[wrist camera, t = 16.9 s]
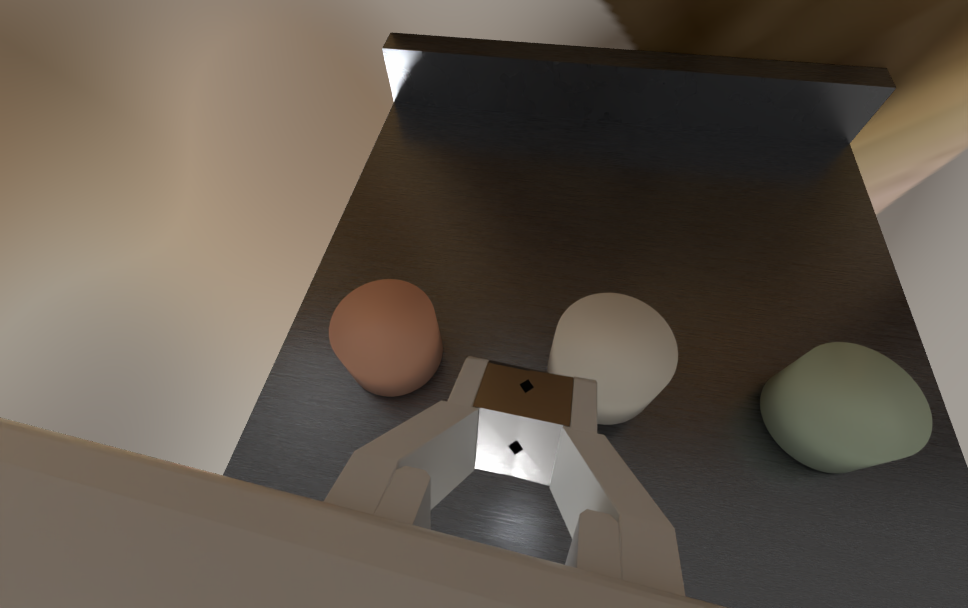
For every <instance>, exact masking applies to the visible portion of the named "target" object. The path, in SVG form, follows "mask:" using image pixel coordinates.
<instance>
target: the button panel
mask: <svg viewBox="0 0 968 608" xmlns="http://www.w3.org/2000/svg"><path fill="white" fill-rule="evenodd" d="M382 50H383V55H384V59H385V64H386V68H387V72H388V77H389V81H390V86H391V90H392V95H393V99H394V103H393V106H392V108H391V110H390V112H389V114H388V117H387V119H386V121H385V123H384V125H383V127H382V130H381V132H380V134H379V136H378V138H377V141H376V143H375V145H374V147H373V149H372V151H371V154H370V156H369V158H368V160H367V162H366V164H365V167H364V169H363V172H362V173H361V176H360V178H359V180H358V182H357V184H356V186H355V188H354V191H353V193H352V195H351V197H350V200H349V202H348V204H347V206H346V208H345V211H344V213H343V215H342V217H341V219H340V221H339V223H338V226H337V228H336V230H335V232H334V234H333V236H332V239H331V241H330V243H329V245H328V247H327V249H326V252H325V254H324V256H323V258H322V261H321V263H320V265H319V267H318V269H317V271H316V273H315V276H314V278H313V280H312V282H311V284H310V287H309V289H308V291H307V293H306V295H305V297H304V300H303V302H302V304H301V306H300V308H299V311H298V313H297V315H296V317H295V319H294V322H293V324H292V326H291V328H290V331H289V332H288V335H287V337H286V339H285V341H284V343H283V345H282V348H281V350H280V352H279V354H278V357H277V359H276V361H275V363H274V365H273V367H272V370H271V372H270V374H269V376H268V378H267V380H266V383H265V385H264V387H263V389H262V391H261V393H260V396H259V398H258V400H257V402H256V404H255V407H254V409H253V411H252V413H251V415H250V417H249V420H248V422H247V424H246V426H245V428H244V431H243V433H242V435H241V437H240V439H239V441H238V444H237V446H236V448H235V450H234V452H233V455H232V457H231V459H230V461H229V463H228V466H227V468H226V470H225V472H224V474H223V476H227V477H231V478H235V479H239V480H242V481H246V482H250V483H254V484H258V485H262V486H265V487H269V488H273V489H277V490H281V491H284V492H288V493H292V494H296V495H300V496H304V497H307V498H311V499H315V500H319V501H324V500H325V498H326V496H327V495H328V493H329V491H330V490H331V488H332V487H333V485H334V483H335V482H336V480H337V478H338V477H339V475H340V474H341V472H342V470H343V469H344V467H345V465H346V464H347V462H348V460H349V459H350V457H351V456H352V454H353V452H354V451H355V450H357V449H359V448H361V447H362V446H364V445H366V444H367V443H369V442H371V441H373V440H374V439H376V438H378V437H379V436H381V435H383V434H385V433H386V432H388V431H390V430H391V429H393V428H395V427H397V426H398V425H400V424H402V423H403V422H405V421H407V420H409V419H410V418H412V417H414V416H415V415H417V414H419V413H421V412H422V411H424V410H426V409H427V408H429V407H431V406H433V405H434V404H436V403H438V402H439V401H446V402H447V401H448V399H449V396H450V394H451V392H452V389H453V387H454V385H455V382H456V380H457V378H458V376H459V373H460V371H461V369H462V366H463V364H464V362H465V359H466V358H467V357H468V356H472V357H476V358H481V359H486V360H492V361H497V362H501V363H506V364H511V365H515V366H520V367H525V368H529V369H533V370H539V371H544V372H548V371H547V368H548V360H549V355H550V351H551V347H552V343H553V339H554V335H555V331H556V327H557V325H558V322H559V320H560V318H561V316H562V315H563V313H564V312H565V311H566V310H567V309H568V308H569V307H570V306H571V305H572V304H573V303H575V302H576V301H578V300H580V299H581V298H584V297H586V296H589V295H593V294H598V293H618V294H624V295H627V296H631V297H633V298H636V299H638V300H640V301H642V302H644V303H646V304H647V305H649V306H650V307H652V308H653V309H654V310H655V311H657V312H658V313H659V314H660V315H661V316H662V317H663V318H664V320H665V321H666V322H667V324H668V325H669V327H670V328H671V330H672V332H673V334H674V337H675V340H676V343H677V349H678V362H677V367H676V370H675V373H674V375H673V377H672V379H671V380H670V382H669V383H668V384H667V386H666V387H665V388H664V389H663V390H662V391H661V392H660V393H659V394H658V395H657V396H656V397H655V398H654V399H653V400H652V401H651V402H650V403H649V405H648V406H647V407H646V408H645V409H644V410H643V411H642V412H641V413H639V414H638V415H637V416H635V417H634V418H632V419H630V420H628V421H626V422H623V423H619V424H613V425H603V424H597V433H598V434H603V435H605V437H606V438H607V439H608V441H609V442H610V443H611V445H612V446H613V447H614V449H615V450H616V451H617V453H618V454H619V455H620V457H621V458H622V459H623V460H624V462H625V463H626V464H627V466H628V467H629V468H630V470H631V471H632V472H633V474H634V475H635V476H636V478H637V479H638V480H639V482H640V483H641V484H642V486H643V487H644V488H645V490H646V491H647V492H648V494H649V495H650V496H651V498H652V499H653V500H654V502H655V503H656V504H657V506H658V507H659V508H660V510H661V511H662V512H663V514H664V515H665V516H666V517H667V519H668V520H669V521H670V523H671V524H672V525H673V527H674V528H675V533H676V539H677V546H678V552H679V558H680V565H681V571H682V578H683V584H684V590H685V596H686V597H690V598H694V599H698V600H702V601H706V602H709V603H713V604H717V605H721V606H725V607H728V608H968V467H967V465H966V462H965V459H964V456H963V454H962V451H961V448H960V446H959V443H958V440H957V437H956V434H955V431H954V429H953V426H952V423H951V421H950V418H949V415H948V413H947V410H946V407H945V404H944V401H943V399H942V396H941V393H940V390H939V388H938V385H937V382H936V379H935V377H934V374H933V371H932V368H931V366H930V363H929V360H928V357H927V355H926V352H925V349H924V347H923V344H922V341H921V338H920V336H919V333H918V330H917V327H916V325H915V322H914V319H913V317H912V314H911V311H910V308H909V305H908V303H907V300H906V297H905V294H904V292H903V289H902V286H901V284H900V281H899V278H898V275H897V272H896V270H895V267H894V264H893V261H892V259H891V256H890V254H889V250H888V248H887V245H886V242H885V240H884V237H883V234H882V231H881V229H880V226H879V223H878V220H877V218H876V215H875V212H874V209H873V207H872V204H871V201H870V198H869V196H868V193H867V190H866V187H865V185H864V182H863V179H862V176H861V174H860V171H859V168H858V165H857V163H856V160H855V157H854V154H853V152H852V149H851V146H850V142H851V141H852V140H853V139H854V138H855V136H856V135H857V134H858V133H859V132H860V130H861V129H862V128H863V127H864V126H865V125H866V123H867V122H868V121H869V120H870V119H871V117H872V116H873V115H874V114H875V113H876V111H877V110H878V109H879V108H880V107H881V105H882V104H883V103H884V102H885V101H886V100H887V98H888V97H889V96H890V95H891V94H892V92H893V91H894V90H895V89H896V86H895V84H894V82H893V80H892V78H891V76H890V74H889V72H888V70H887V68H873V67H859V66H845V65H831V64H817V63H804V62H790V61H776V60H762V59H748V58H735V57H721V56H707V55H693V54H679V53H665V52H652V51H638V50H624V49H623V50H622V49H610V48H596V47H581V46H568V45H555V44H541V43H527V42H513V41H500V40H485V39H472V38H457V37H444V36H430V35H417V34H403V33H390V35H389V36H388V38H387V40H386V42H385V44H384V46H383V48H382ZM382 279H397V280H402V281H406V282H409V283H411V284H413V285H415V286H417V287H418V288H420V289H421V290H422V291H423V292H424V293H425V294H426V295H427V296H428V297H429V299H430V300H431V302H432V305H433V307H434V310H435V314H436V318H437V322H438V326H439V331H440V335H441V339H442V344H443V354H442V359H441V362H440V365H439V367H438V369H437V371H436V372H435V374H434V375H433V376H432V378H431V379H430V380H429V381H428V382H427V383H426V384H424V385H423V386H422V387H420V388H419V389H417V390H415V391H413V392H411V393H408V394H405V395H401V396H395V397H387V396H380V395H376V394H373V393H371V392H369V391H367V390H365V389H364V388H363V387H361V386H360V385H359V384H358V383H357V382H356V380H355V379H354V378H353V376H352V375H351V374H350V373H349V371H348V370H347V369H346V367H345V366H344V365H343V364H342V362H341V361H340V360H339V358H338V357H337V356H336V354H335V353H334V351H333V349H332V347H331V344H330V340H329V325H330V321H331V318H332V315H333V313H334V311H335V309H336V307H337V306H338V304H339V303H340V302H341V301H342V300H343V299H344V298H345V297H346V296H347V295H348V294H349V293H350V292H352V291H353V290H355V289H356V288H358V287H360V286H362V285H364V284H366V283H369V282H372V281H376V280H382ZM831 342H847V343H853V344H858V345H861V346H865V347H867V348H870V349H873V350H875V351H877V352H879V353H881V354H883V355H884V356H886V357H888V358H889V359H891V360H892V361H894V362H895V363H896V364H898V365H899V366H900V367H901V368H902V369H904V370H905V371H906V372H907V373H908V374H909V375H910V376H911V377H912V379H913V380H914V381H915V382H916V383H917V385H918V386H919V387H920V389H921V390H922V392H923V394H924V396H925V397H926V399H927V402H928V404H929V407H930V410H931V414H932V432H931V436H930V438H929V440H928V442H927V444H926V445H925V446H924V447H923V448H922V449H921V450H920V451H919V452H917V453H915V454H914V455H911V456H908V457H906V458H902V459H898V460H894V461H890V462H886V463H882V464H879V465H875V466H871V467H867V468H863V469H859V470H855V471H851V472H847V473H827V472H822V471H818V470H816V469H813V468H810V467H808V466H806V465H804V464H802V463H800V462H799V461H797V460H796V459H794V458H793V457H791V456H790V455H789V454H788V453H786V452H785V451H784V450H783V449H782V448H781V447H780V446H779V445H778V444H777V443H776V441H775V440H774V439H773V437H772V436H771V434H770V433H769V431H768V430H767V427H766V425H765V423H764V421H763V418H762V414H761V410H760V396H761V392H762V389H763V387H764V385H765V384H766V382H767V381H768V380H769V379H770V378H771V377H772V376H774V375H775V374H777V373H778V372H779V371H781V370H782V369H784V368H785V367H787V366H788V365H790V364H791V363H793V362H794V361H796V360H797V359H799V358H800V357H802V356H803V355H805V354H806V353H807V352H809V351H810V350H812V349H813V348H815V347H817V346H819V345H822V344H825V343H831ZM549 487H550V486H549V485H545V484H541V483H537V482H533V481H530V480H526V479H522V478H518V477H514V476H510V475H505V474H500V473H496V472H491V471H486V470H481V469H476V468H474V471H473V472H472V473H471V474H470V475H469V476H467V477H466V478H465V479H464V480H463V481H462V482H461V483H460V484H459V485H458V486H457V487H455V488H454V489H453V490H452V491H451V492H450V493H449V494H448V495H447V496H446V497H445V498H443V499H442V500H441V501H440V502H439V503H438V504H437V505H436V506H435V507H434V508H433V509H431V530H434V531H437V532H441V533H445V534H449V535H453V536H457V537H460V538H464V539H468V540H472V541H476V542H479V543H483V544H487V545H491V546H495V547H499V548H502V549H506V550H510V551H514V552H518V553H521V554H525V555H529V556H533V557H537V558H540V559H544V560H548V561H552V562H556V563H560V564H563V565H565V563H566V559H567V556H568V552H569V549H570V546H571V542H572V537H571V535H570V533H569V530H568V528H567V526H566V524H565V521H564V519H563V517H562V515H561V513H560V510H559V508H558V506H557V504H556V501H555V499H554V497H553V495H552V492H551V490H550V488H549Z"/></svg>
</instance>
